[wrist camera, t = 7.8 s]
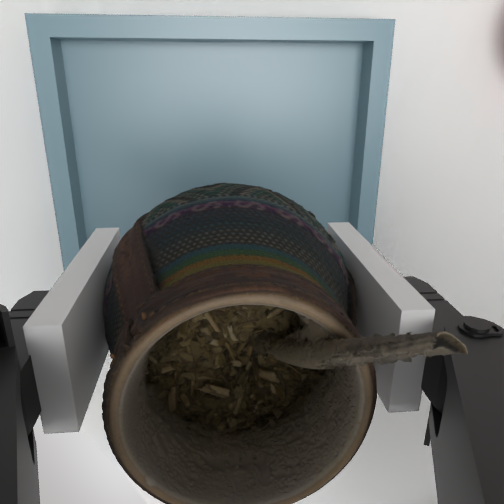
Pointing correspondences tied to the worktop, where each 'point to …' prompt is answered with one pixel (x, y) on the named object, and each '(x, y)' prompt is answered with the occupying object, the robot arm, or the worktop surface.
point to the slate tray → (208, 113)
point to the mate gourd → (239, 350)
